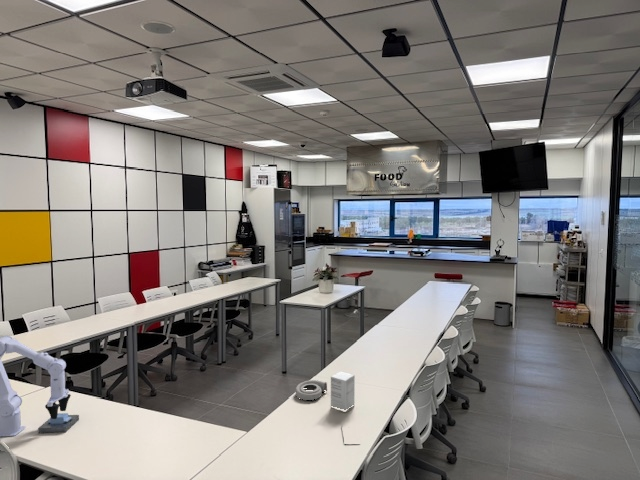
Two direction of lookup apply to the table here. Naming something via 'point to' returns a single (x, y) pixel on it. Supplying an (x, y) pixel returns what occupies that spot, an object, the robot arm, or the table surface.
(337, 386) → the supplement box
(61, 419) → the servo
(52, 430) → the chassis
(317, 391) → the turbocharger housing
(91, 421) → the table surface
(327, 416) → the table surface
